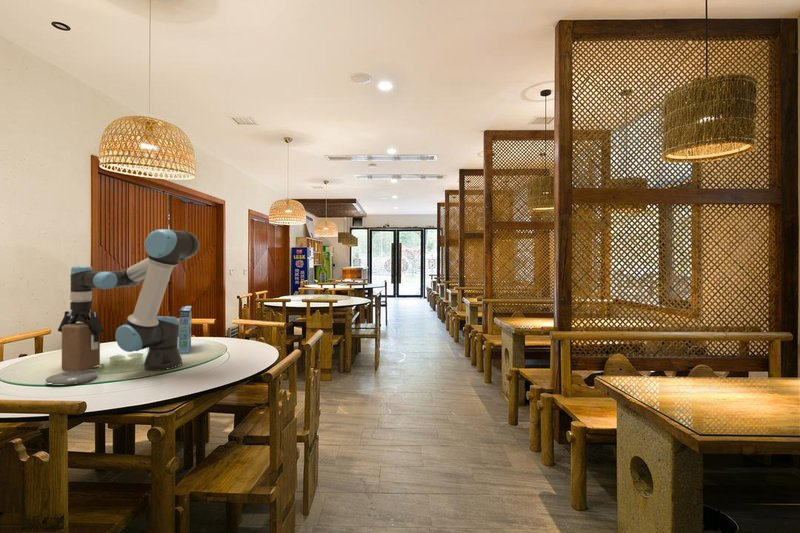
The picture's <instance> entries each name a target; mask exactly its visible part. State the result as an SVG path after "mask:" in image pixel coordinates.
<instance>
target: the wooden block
mask: <svg viewBox="0 0 800 533" xmlns="http://www.w3.org/2000/svg"><path fill="white" fill-rule="evenodd" d="M92 334H93V333H92V332H91V331H90V329H89V326H88V325H86V324H85V323H83V322H76V323H74V324H67V325H63V326H62V332H61V369H62V371H66V372H71V371H81V370H91V369H94V368H93V367H94V366H97V365H99V366H100V363H101V360H100V359H101V334H99V342H98V349H94V350H91V335H92Z"/></svg>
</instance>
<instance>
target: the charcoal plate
mask: <svg viewBox="0 0 800 533" xmlns="http://www.w3.org/2000/svg"><path fill="white" fill-rule="evenodd" d="M97 377H98V371H96V370H91V369H88V370H81V371H66V372H61V373H57V374H56V373H55V374H53V375H50V376H48V377H47V378H45V383H46V382H47V383H52V384H71V385H76V384H75V383H77V384H81V382H82V383H84V382H87V381H92V380H93V379H96V378H97Z"/></svg>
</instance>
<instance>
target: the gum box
mask: <svg viewBox="0 0 800 533" xmlns="http://www.w3.org/2000/svg"><path fill="white" fill-rule="evenodd" d="M192 308H193V306H192V305H186V306H185V305H182V306H181V308H180V309H179V310H178V325H179V326H178V350H179V352H180V354H181V355H188V354H189V353H190V350H191V348H192V313H193V312H192Z"/></svg>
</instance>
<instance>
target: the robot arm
mask: <svg viewBox="0 0 800 533" xmlns="http://www.w3.org/2000/svg"><path fill="white" fill-rule="evenodd" d="M144 240H145V241H144V248H145V252H146V253H147V258H145V259H142V260H141V261H139V262H137V263H134V264H133V265H131V266H129V267H128V268H125V269H123V270H109V271H107V270H106V271H97V270H96V271H93V267H92V266H89V265H85V266H84V265H75V266H72V267H71V268H70V275H69V276H70V296H69V297H70V301H71V302H69V304H70V305H69V306H70V307H69V308H70V310H67V311H64V316H63V318H62V320H61V322H60V324H59V327H58V328H57V332H61V333H62V326H63V325H67V324H74V323H80V322H83V323H85V324H86V325H88V326H89V329H90V331H91V332H92V333H93V334H92V335H91V350H94V349H98V342H99V334H100V335H101V334H103V333H105V330H104V328H103V326H102V324H101V321H100V319H99V316H98V312H97V311H93V312H91V310H92V309H93V301H92V299H93V298H92V297H93V295H92V294H93V289H96V290H97V289H98V290H110V289H113V288H128V287H129V288H132V287H135V286H139V284H140V283H141V281H142V280H143V283H142V286H141V289H140V292H139V296H138V297H137V301H136V304H135V308H134V311H133V313H132V314H130V315H128V316H127V318H126V322H125V324H122V325H121V326H119V327H117V329H116V331H115V335H114V336H115V341H116V342H115V343H117V345H118V347H119V348H120V349H121V350H123V351H124V352H128V353H133V352H138V351H141V350H145V349H148V352H147V354H146V358H145V360H144V364H143V368H144V370H146V371H147V370H148V371H163V370H162V369H165V370H168V369H167V368H171V369H173V368H172V367H175V366H178V365H180V364H182V365H183V358H182V354H181V355H180V352H179V350H178V336H179V318H178V317H176V316H169V315H168V316H163V315H162V316H161V315H159V314H158V313H159V311H160V308H161V306H162V301H163V298H164V297H165V296H164V295H165V292H166V289H167V287H168V285H169V284H168V283H169V281H170V278H171V275H172V272H173V269H174V267H177V266H178V265H179V264H180V262H184V261H187V260H188V259H191V258H192V257H194V256H195V255H196V254H197V253H198V251H199V249H200V241H199V239H198V238H197V236H196V235H195V234H194V233H192V232H190V231H185V230H177V229H176V230H174V229H168V228H164V229H163V228H162V229H161V228H160V229H159V228H158V229H155V230H153V231H151V232H150V233H149V234H147V237H146V239H144ZM178 367H179V366H178ZM175 368H176V367H175Z"/></svg>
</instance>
